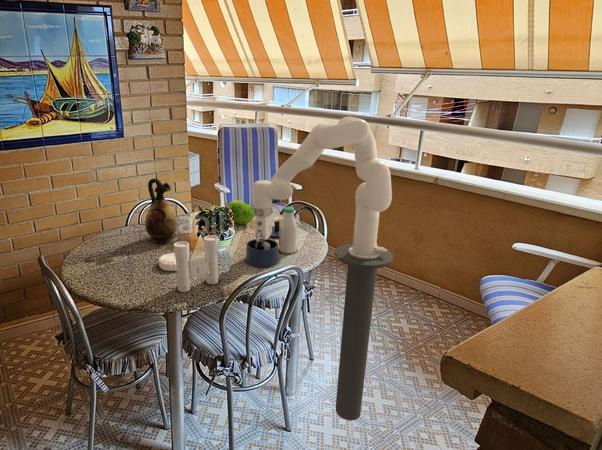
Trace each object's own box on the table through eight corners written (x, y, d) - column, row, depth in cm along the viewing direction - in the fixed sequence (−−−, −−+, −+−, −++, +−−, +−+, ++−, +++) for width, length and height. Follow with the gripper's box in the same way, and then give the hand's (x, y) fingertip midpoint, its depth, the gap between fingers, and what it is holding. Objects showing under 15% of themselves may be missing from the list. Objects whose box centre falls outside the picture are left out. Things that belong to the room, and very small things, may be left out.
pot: (280, 256, 177) (281, 240, 175) (273, 269, 166) (273, 252, 163) (251, 252, 182) (251, 237, 179) (242, 264, 170) (242, 248, 168)
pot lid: (293, 230, 208) (294, 218, 206) (287, 239, 196) (288, 227, 194) (266, 227, 213) (267, 215, 211) (259, 236, 201) (259, 224, 199)
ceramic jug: (184, 237, 202) (180, 177, 192) (164, 247, 190) (159, 184, 180) (157, 231, 211) (153, 174, 201) (137, 241, 198) (131, 180, 188)
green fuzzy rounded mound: (240, 214, 234) (240, 195, 230) (260, 226, 214) (260, 205, 210) (220, 218, 229) (219, 198, 225) (238, 230, 209) (237, 208, 205)
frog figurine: (252, 255, 174) (251, 239, 172) (265, 251, 177) (265, 236, 175) (260, 259, 169) (260, 244, 167) (273, 255, 172) (274, 240, 170)
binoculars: (180, 293, 148) (177, 248, 142) (174, 287, 153) (171, 243, 147) (221, 282, 156) (220, 238, 150) (215, 276, 160) (214, 234, 154)
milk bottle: (299, 250, 184) (301, 207, 177) (289, 255, 178) (290, 211, 172) (285, 245, 189) (286, 204, 182) (275, 250, 184) (276, 208, 177)
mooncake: (153, 266, 171) (152, 258, 170) (174, 256, 179) (173, 249, 178) (173, 274, 164) (172, 265, 162) (193, 263, 172) (193, 256, 171)
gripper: (266, 218, 158) (266, 260, 164) (277, 205, 173) (276, 244, 179) (247, 216, 160) (248, 258, 166) (260, 204, 175) (260, 242, 181)
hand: (262, 250), depth 172 cm, fingers closed on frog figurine, 6 cm apart
